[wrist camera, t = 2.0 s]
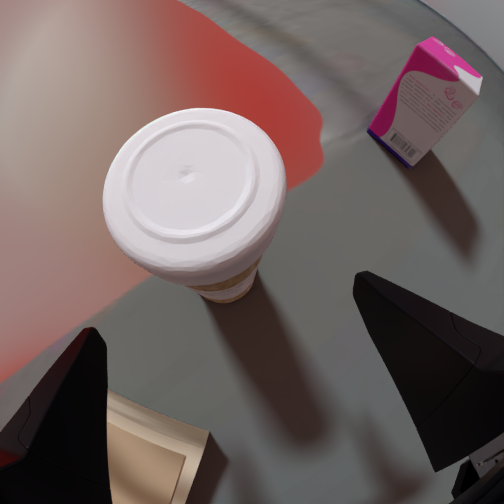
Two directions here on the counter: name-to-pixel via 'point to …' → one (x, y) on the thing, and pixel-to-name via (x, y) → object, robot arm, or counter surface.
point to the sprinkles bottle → (197, 200)
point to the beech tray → (150, 454)
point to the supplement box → (425, 101)
